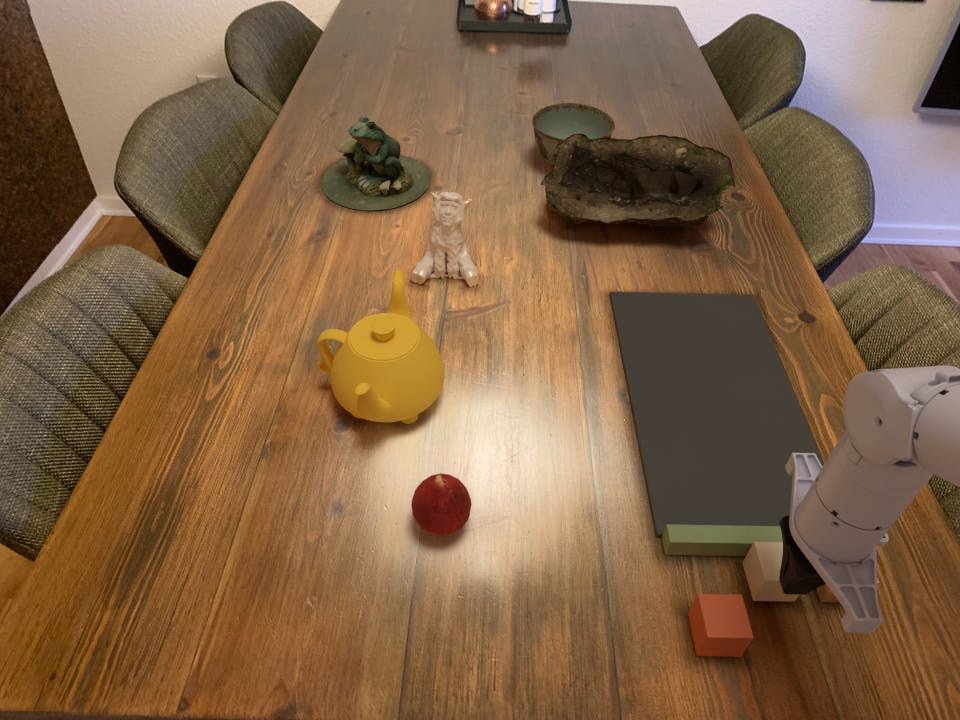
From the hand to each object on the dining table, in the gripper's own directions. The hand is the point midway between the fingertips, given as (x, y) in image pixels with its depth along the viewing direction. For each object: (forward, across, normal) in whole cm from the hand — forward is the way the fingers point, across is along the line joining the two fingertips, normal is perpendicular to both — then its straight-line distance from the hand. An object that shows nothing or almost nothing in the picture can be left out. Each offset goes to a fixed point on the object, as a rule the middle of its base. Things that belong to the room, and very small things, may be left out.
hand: (793, 586), depth 60 cm
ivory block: (+7, +4, -1) cm, 9 cm away
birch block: (+7, +4, -8) cm, 12 cm away
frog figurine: (+7, +75, +44) cm, 87 cm away
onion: (+8, +10, +30) cm, 33 cm away
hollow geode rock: (+7, +64, +4) cm, 65 cm away
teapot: (+7, +27, +38) cm, 48 cm away
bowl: (+7, +82, +12) cm, 83 cm away
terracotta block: (+7, -1, +5) cm, 9 cm away
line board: (+7, +28, -1) cm, 29 cm away
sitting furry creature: (+7, +52, +32) cm, 61 cm away
